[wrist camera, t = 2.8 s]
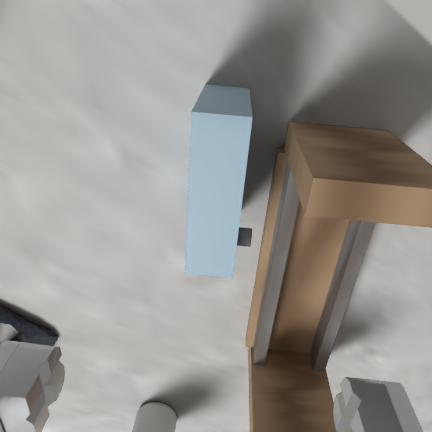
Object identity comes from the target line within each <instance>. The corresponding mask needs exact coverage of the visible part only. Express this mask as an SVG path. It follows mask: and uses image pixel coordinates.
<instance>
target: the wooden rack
mask: <svg viewBox="0 0 432 432" xmlns="http://www.w3.org/2000/svg"><path fill="white" fill-rule="evenodd" d="M375 222H378V223H389V224H400V225H410V226H421V227H431V228H432V165H431V164H430V163H429V162H427V161H426V160H425V159H423V158H422V157H421V156H420V155H418V154H417V153H416V152H415V151H413V150H412V149H411V148H410V147H408V146H407V145H406V144H405V143H403V142H402V141H401V140H399V139H398V138H397V137H396V136H394V135H393V134H392V133H391V132H389V131H387V130H376V129H365V128H354V127H343V126H332V125H321V124H310V123H299V122H288V127H287V133H286V139H285V145H284V149H280V148H277V151H276V157H275V163H274V169H273V175H272V181H271V188H270V194H269V200H268V206H267V212H266V218H265V224H264V230H263V236H262V242H261V248H260V254H259V261H258V267H257V273H256V279H255V285H254V291H253V297H252V303H251V309H250V315H249V321H248V327H247V334H246V347H249V351H248V365H249V413H250V432H337V431H336V428H335V423H334V415H333V408H334V403H333V398H332V394H331V390H330V386H329V382H328V377H327V373H326V369H325V368H326V365H327V362H328V359H329V356H330V353H331V350H332V347H333V345H334V342H335V339H336V336H337V333H338V330H339V327H340V324H341V321H342V318H343V315H344V312H345V309H346V306H347V303H348V301H349V298H350V295H351V292H352V289H353V286H354V283H355V280H356V277H357V274H358V271H359V268H360V265H361V262H362V260H363V257H364V254H365V251H366V248H367V245H368V242H369V239H370V236H371V233H372V230H373V227H374V224H375Z"/></svg>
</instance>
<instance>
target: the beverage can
mask: <svg viewBox="0 0 432 432" xmlns="http://www.w3.org/2000/svg"><path fill="white" fill-rule="evenodd" d="M176 422H177V417H176V414H175V412H174V411H173V409H172V408H171V407H170V406H168V405H166V404H163V403H159V402H151V403H147V404H145V405H144V406H142V407H141V408H140V409H139V410H138V412H137V415H136V419H135V423H134V427H133V430H132V432H175V428H176Z"/></svg>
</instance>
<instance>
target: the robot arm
mask: <svg viewBox="0 0 432 432" xmlns="http://www.w3.org/2000/svg"><path fill="white" fill-rule="evenodd" d="M60 357H61V351H60V347H55V346H47V345H39V344H32V343H24V342H16V341H7V340H5V341H4V342H3V343H1V344H0V432H41V431H42V429H43V427H44V425H45V423H46V421H47V419H48V417H49V411H48V406H49V405H50V404H52V403H53V402H54V401H56V400H57V398H58V396H59V394H60V392H61V389H62V385H63V382H64V375H65V370H64V365H63V364H62V363H61V362H60V361H59V359H60ZM341 389H342V392H340V393H339V394H337V395H336V398H335V401H334V408H333V415H334V423H335V428H336V431H337V432H423V430H422V428H421V426H420V423H419V421H418V419H417V416H416V414H415V412H414V410H413V407H412V405H411V403H410V401H409V398H408V396H407V394H406V391H405V389H404V387H403V386H402V385H401V384H400V383H397V382H386V381H380V380H371V379H360V378H349V377H345V378H344V379H343V380H342V382H341Z"/></svg>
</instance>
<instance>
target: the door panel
mask: <svg viewBox="0 0 432 432" xmlns="http://www.w3.org/2000/svg"><path fill="white" fill-rule="evenodd" d="M252 119H253V116H252V106H251V97H250V88H243V87H231V86H220V85H209V84H205V86H204V88H203V90H202V92H201V94H200V96H199V98H198V100H197V102H196V104H195V106H194V108H193V110H192V112H191V136H190V161H189V186H188V211H187V236H186V261H185V273H188V274H199V275H209V276H219V277H229V278H233V272H234V264H235V256H236V248H237V245H239V246H249V247H250V245H251V238H252V229H251V228H240V227H239V224H240V216H241V207H242V199H243V191H244V183H245V175H246V167H247V159H248V151H249V143H250V135H251V127H252Z"/></svg>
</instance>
